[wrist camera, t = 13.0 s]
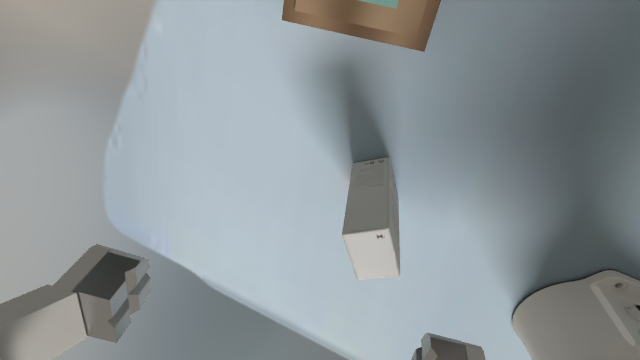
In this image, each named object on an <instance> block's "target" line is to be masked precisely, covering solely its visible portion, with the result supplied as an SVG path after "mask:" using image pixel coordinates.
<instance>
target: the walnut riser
mask: <svg viewBox="0 0 640 360" xmlns="http://www.w3.org/2000/svg"><path fill="white" fill-rule="evenodd" d="M440 2H441V0H399V1H398V4H397V8H396V9H395V8H391V7H386V6H382V5H377V4H373V3H368V2H363V1H359V0H284V6H283V15H282V20H284V21H288V22H293V23H297V24H302V25H306V26H311V27H315V28H320V29H324V30H329V31H333V32H338V33H342V34H347V35H352V36H356V37H361V38H365V39H370V40H374V41H379V42H383V43H388V44H392V45H397V46H401V47H406V48H410V49H415V50H419V51H425V48H426V44H427V41H428V38H429V35H430V32H431V29H432V26H433V23H434V20H435V17H436V14H437V11H438V8H439V5H440Z"/></svg>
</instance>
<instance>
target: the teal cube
mask: <svg viewBox="0 0 640 360" xmlns="http://www.w3.org/2000/svg"><path fill="white" fill-rule="evenodd" d="M359 1H363V2H368V3H373V4H377V5H382V6H386V7H391V8H395V9H396V8H397V4H398V1H399V0H359Z"/></svg>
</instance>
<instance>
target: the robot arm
mask: <svg viewBox="0 0 640 360" xmlns="http://www.w3.org/2000/svg"><path fill="white" fill-rule="evenodd" d="M149 268H150V265H149V259H146V258H143V257H140V256H136V255H133V254H130V253H126V252H123V251H119V250H116V249H112V248H109V247H105V246H102V245H98V244H96V245H94V246H93V247H91V248H89V250H88V251H87V252H86V253H85V254H84V255H83V256H82V257H81V258H80V259H79V260H78V261H77V262H76V263H75V264H74V265H73V266H72V267H71V268H70V269H69V270H68V271H67V272H66V273H65V274H64V275H63V276H62V277H61V278H60V279H59V280H58V281H57V282H56V283H55V284H54V285H53V286H51V285H45V286H43V287H40V288H38V289H36V290H33V291H31V292H28V293H26V294H23V295H21V296H19V297H16V298H14V299H12V300H9V301H7V302H4V303H2V304H0V360H52V359H54V358H55V357H57V356H58V355H60V354H61V353H63V352H65V351H66V350H68V349H70V348H71V347H73V346H74V345H76V344H77V343H79V342H81V341H82V340H84V339H85V338H87V336H92V337H95V338H99V339H103V340H108V341H112V342H116V343H117V342H118V340H119V339H120V338H121V336H122V335H123V333H124V332H125V330H126V329H127V328H128V326H129V325H130V323H131V318H130V314H132V313H134V312H136V311H138V310H140V309H141V307H142V306H143V304H144V303H145V301H146V299H147V296H148V294H149V292H150V287H151V278H150V277H149V275H148V274H147V273H146V272H147V270H148V269H149ZM512 323H513V328H514V331H515V332H516V334H517V335H518V337H519V338H520V340H521V341H522V343H523V344H524V346H525V348H526V349H527V351H528V353H529V355H530V356H531V358H532V360H640V281H639V280H636V279H634V278H632V277H629V276H627V275H624V274H622V273H620V272H617V271H614V270H607V271H602V272H599V273H597V274H594V275H592V276H590V277H587V278H585V279H582V280H578V281H572V282H566V283H561V284H556V285H553V286H550V287H547V288H544V289H542V290H540V291H538V292H536V293H534V294H532V295H531V296H529V297H528V298H526V299H525V300H524V301H523V302H522V303H521V304H520V305H519V306H518V308H517V309H516V311H515V313H514V315H513V320H512ZM421 343H422V347H420V348H418V349H416V350H415V352H414V354H413V356H412V360H485V355H484V351H483V349H482V348H481V347H480V346H476V345H472V344H469V343H465V342H461V341H459V340H455V339H451V338H447V337H443V336H439V335H435V334H431V333H426V334H424V336H423V338H422V340H421Z"/></svg>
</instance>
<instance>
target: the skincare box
mask: <svg viewBox="0 0 640 360" xmlns="http://www.w3.org/2000/svg"><path fill="white" fill-rule="evenodd" d="M342 236H343V239H344V242H345V245H346V248H347V251H348V254H349V256H350V259H351V262H352V265H353V268H354V271H355V274H356V277H357V279H358V280H362V279H374V278H387V277H399V276H400V245H399V203H398V195H397V190H396V186H395V181H394V176H393V172H392V167H391V163H390V158H389V157H386V158H380V159H374V160H368V161H362V162H356V163H353V165H352V172H351V179H350V185H349V191H348V199H347V205H346V212H345V218H344V225H343V232H342Z"/></svg>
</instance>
